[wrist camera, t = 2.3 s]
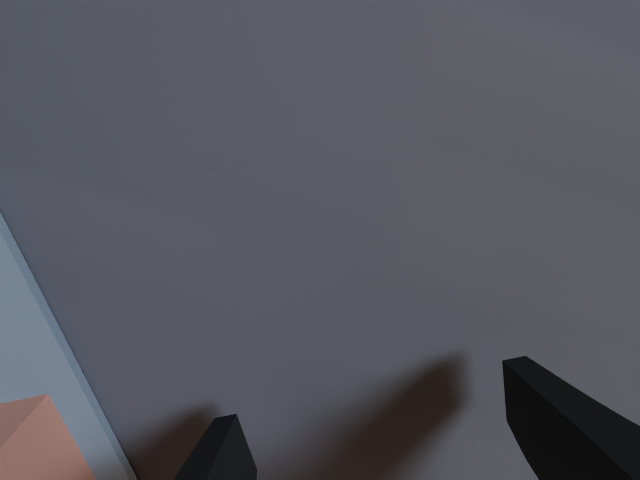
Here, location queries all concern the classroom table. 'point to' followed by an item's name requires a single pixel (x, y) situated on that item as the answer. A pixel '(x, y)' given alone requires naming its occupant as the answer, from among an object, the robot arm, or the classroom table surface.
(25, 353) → the t board
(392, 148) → the classroom table surface
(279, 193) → the classroom table surface
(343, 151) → the classroom table surface
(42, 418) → the t block
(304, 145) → the classroom table surface
